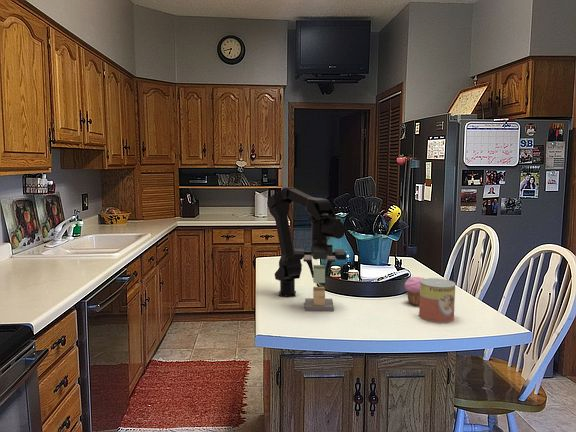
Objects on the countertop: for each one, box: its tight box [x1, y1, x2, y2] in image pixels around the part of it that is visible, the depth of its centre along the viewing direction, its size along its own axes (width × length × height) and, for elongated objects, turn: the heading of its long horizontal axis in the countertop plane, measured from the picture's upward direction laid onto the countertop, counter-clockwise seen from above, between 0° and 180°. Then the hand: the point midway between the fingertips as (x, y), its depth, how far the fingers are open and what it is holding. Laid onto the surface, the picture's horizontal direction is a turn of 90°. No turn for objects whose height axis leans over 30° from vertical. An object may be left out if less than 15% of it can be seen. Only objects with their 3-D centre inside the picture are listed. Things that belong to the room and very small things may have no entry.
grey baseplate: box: [304, 297, 335, 312], centre depth 167 cm, size 10×10×2 cm
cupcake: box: [404, 276, 426, 306], centre depth 170 cm, size 9×9×10 cm
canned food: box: [418, 277, 456, 324], centre depth 155 cm, size 11×11×12 cm
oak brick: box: [312, 286, 326, 305], centre depth 167 cm, size 6×4×5 cm, turn 178°
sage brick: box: [312, 264, 326, 284], centre depth 166 cm, size 6×4×5 cm, turn 178°
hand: (319, 277), depth 166 cm, fingers closed on sage brick, 4 cm apart
